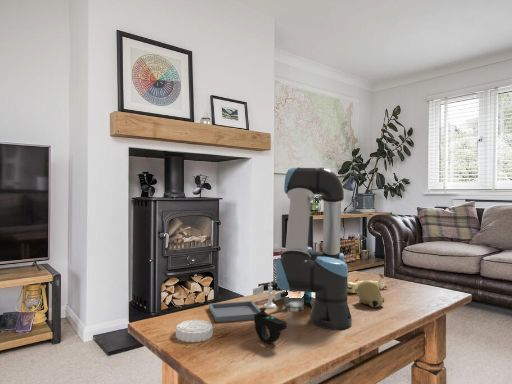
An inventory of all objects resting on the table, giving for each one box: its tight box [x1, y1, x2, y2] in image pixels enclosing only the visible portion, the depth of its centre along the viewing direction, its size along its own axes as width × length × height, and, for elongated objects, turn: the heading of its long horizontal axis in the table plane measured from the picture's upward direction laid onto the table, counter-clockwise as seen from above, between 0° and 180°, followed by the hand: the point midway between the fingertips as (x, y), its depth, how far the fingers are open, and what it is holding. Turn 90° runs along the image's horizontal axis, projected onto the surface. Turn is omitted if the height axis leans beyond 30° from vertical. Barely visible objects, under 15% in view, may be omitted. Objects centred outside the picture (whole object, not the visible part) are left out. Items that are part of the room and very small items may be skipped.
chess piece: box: [263, 281, 277, 309], centre depth 151 cm, size 5×5×10 cm
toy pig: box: [355, 279, 385, 308], centre depth 157 cm, size 10×12×11 cm
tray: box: [208, 300, 261, 324], centre depth 142 cm, size 16×18×2 cm
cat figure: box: [347, 272, 388, 294], centre depth 180 cm, size 10×9×25 cm
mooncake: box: [175, 319, 214, 343], centre depth 120 cm, size 12×12×4 cm
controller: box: [253, 307, 288, 344], centre depth 115 cm, size 4×12×10 cm, turn 43°
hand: (264, 294), depth 148 cm, fingers open, 10 cm apart
